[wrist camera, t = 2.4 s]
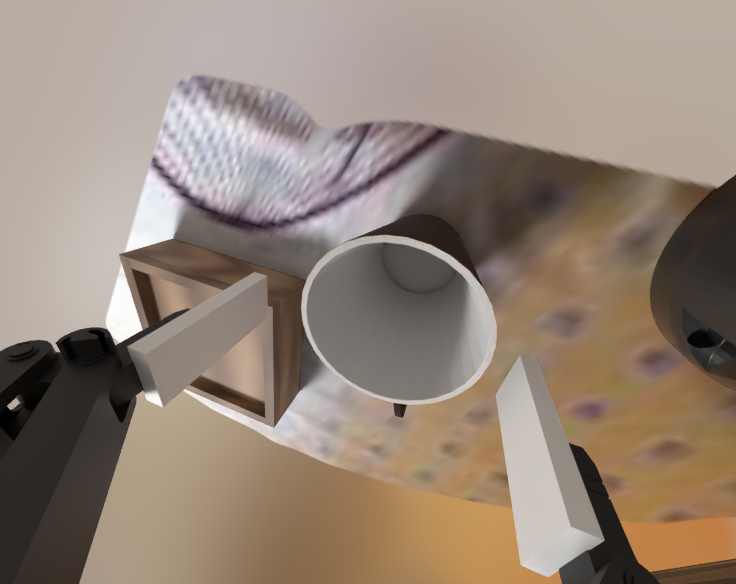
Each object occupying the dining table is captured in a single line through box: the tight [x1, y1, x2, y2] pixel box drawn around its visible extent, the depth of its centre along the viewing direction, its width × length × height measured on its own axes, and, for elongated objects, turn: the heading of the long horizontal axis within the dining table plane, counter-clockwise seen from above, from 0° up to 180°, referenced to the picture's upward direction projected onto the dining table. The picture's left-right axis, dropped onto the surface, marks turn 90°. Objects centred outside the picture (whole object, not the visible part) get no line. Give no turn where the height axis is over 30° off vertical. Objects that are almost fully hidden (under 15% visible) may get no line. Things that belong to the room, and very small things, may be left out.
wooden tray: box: [119, 239, 306, 428], centre depth 27 cm, size 15×15×5 cm
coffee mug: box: [301, 214, 497, 417], centre depth 17 cm, size 12×9×10 cm
